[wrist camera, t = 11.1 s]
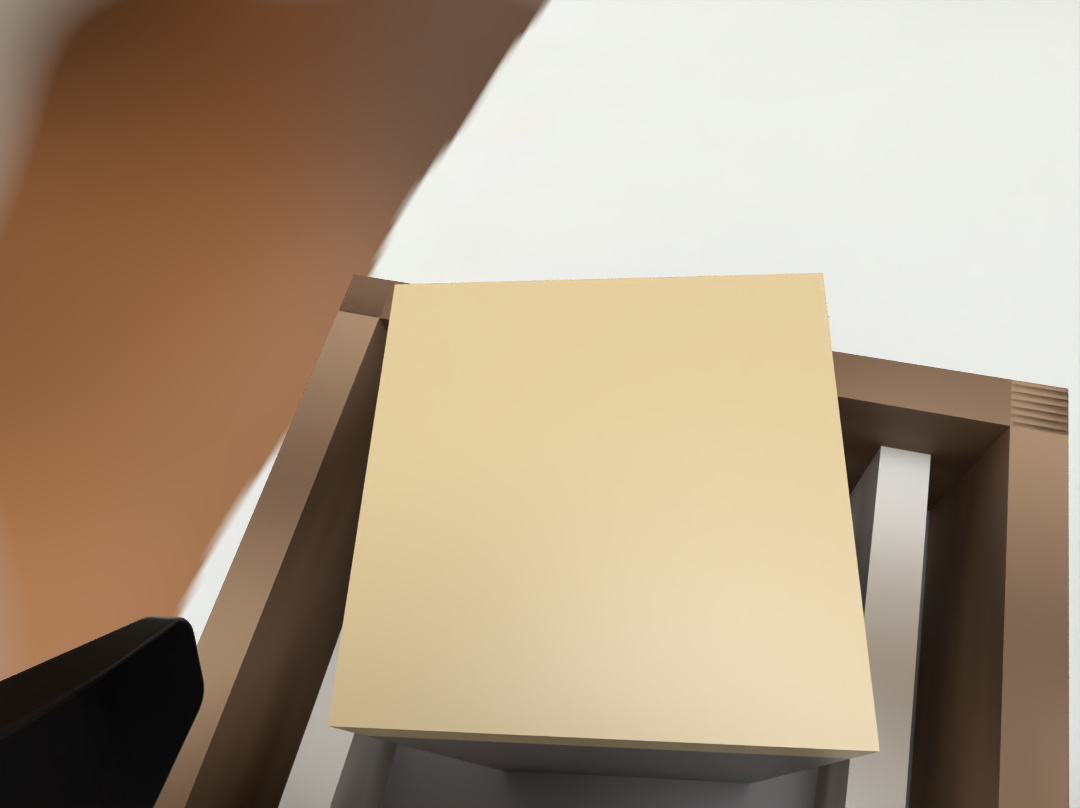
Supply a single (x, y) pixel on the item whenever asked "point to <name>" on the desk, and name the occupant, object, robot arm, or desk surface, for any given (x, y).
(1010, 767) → the walled box
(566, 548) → the tan lidded carton
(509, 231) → the desk surface
